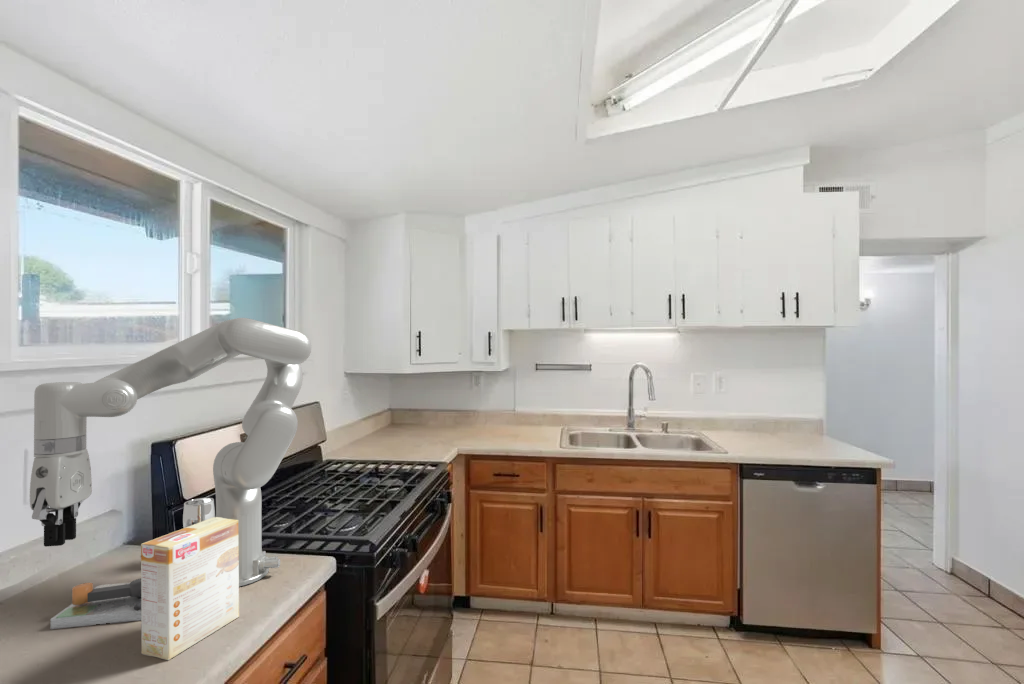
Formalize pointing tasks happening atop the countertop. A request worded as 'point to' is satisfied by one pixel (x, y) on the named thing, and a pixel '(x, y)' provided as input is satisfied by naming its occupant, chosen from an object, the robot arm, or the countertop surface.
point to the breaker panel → (98, 612)
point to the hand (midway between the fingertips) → (60, 541)
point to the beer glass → (198, 511)
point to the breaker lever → (104, 592)
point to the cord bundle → (137, 606)
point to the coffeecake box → (188, 586)
